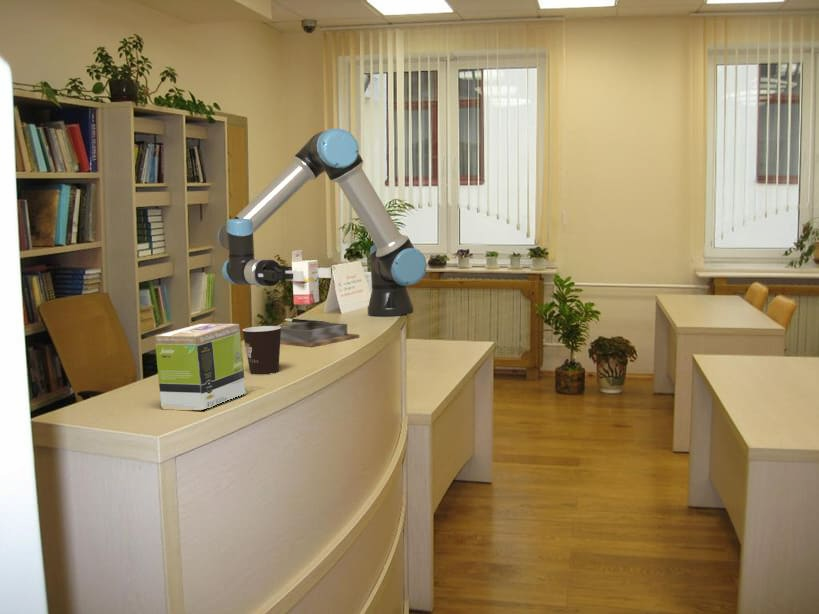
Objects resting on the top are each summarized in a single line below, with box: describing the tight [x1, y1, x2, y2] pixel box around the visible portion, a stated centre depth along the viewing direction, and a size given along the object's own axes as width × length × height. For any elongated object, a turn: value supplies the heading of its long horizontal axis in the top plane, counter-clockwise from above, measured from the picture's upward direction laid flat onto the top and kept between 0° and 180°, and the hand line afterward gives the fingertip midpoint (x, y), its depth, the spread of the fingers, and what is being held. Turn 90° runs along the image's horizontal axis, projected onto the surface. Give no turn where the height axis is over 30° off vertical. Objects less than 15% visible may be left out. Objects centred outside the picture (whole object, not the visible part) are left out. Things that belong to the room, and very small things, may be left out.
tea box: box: [154, 323, 247, 409], centre depth 181 cm, size 15×10×15 cm, turn 157°
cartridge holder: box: [280, 320, 360, 348], centre depth 257 cm, size 18×20×4 cm
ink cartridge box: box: [291, 249, 320, 306], centre depth 256 cm, size 9×5×15 cm, turn 168°
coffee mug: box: [242, 325, 282, 375], centre depth 212 cm, size 12×9×10 cm
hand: (316, 274), depth 253 cm, fingers closed on ink cartridge box, 9 cm apart
